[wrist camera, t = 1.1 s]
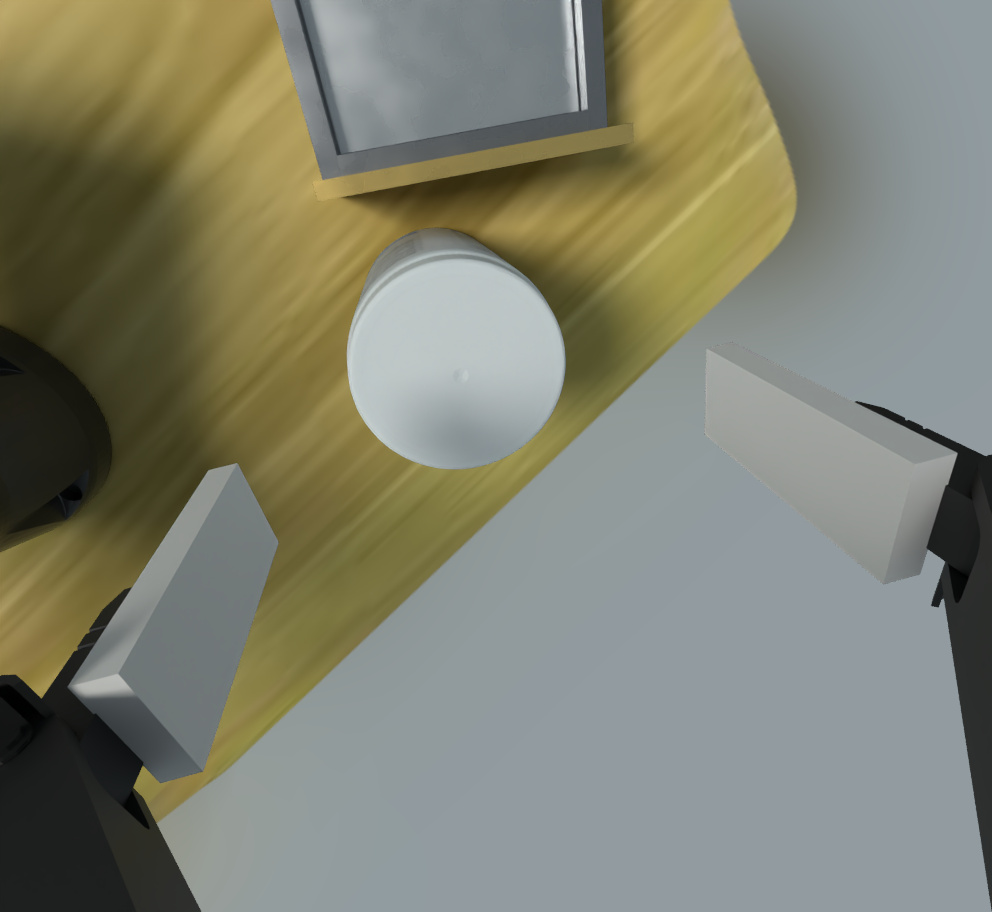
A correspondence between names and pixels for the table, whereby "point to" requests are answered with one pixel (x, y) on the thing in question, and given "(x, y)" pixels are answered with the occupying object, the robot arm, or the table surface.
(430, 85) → the gray square tray
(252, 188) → the table surface
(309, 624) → the table surface
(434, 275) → the supplement tub
